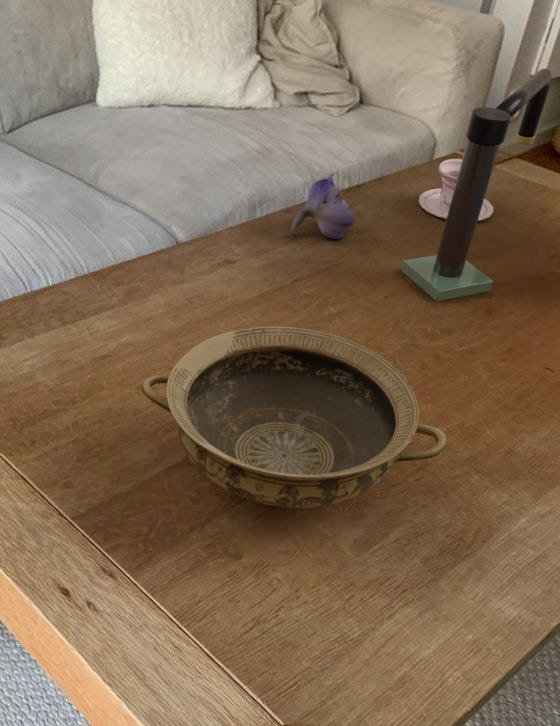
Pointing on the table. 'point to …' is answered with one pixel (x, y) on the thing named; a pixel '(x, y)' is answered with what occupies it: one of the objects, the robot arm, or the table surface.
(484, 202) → the teacup
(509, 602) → the table surface
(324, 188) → the flower
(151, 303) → the table surface
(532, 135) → the spout
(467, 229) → the base
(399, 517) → the table surface
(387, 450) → the ceramic bowl
